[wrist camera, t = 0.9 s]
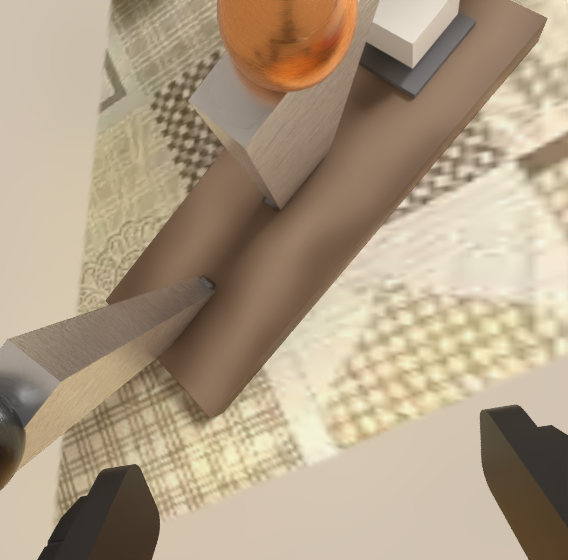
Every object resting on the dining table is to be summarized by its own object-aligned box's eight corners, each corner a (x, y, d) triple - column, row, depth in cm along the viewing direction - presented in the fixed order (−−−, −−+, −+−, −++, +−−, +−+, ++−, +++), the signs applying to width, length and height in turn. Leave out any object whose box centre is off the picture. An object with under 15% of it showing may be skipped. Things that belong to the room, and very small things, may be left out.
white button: (456, 23, 25) (461, -17, 22) (412, 76, 25) (412, 44, 23) (403, -4, 26) (402, -45, 24) (363, 47, 27) (357, 13, 24)
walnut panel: (537, 41, 26) (549, 13, 24) (223, 412, 29) (207, 418, 27) (388, -33, 30) (386, -64, 27) (123, 302, 33) (101, 300, 31)
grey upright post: (226, 292, 28) (33, 425, 8) (176, 353, 29) (-127, 628, 8) (195, 266, 28) (-85, 332, 8) (145, 328, 29) (-239, 542, 8)
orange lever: (339, 154, 27) (462, -118, 7) (285, 219, 28) (244, 157, 7) (306, 126, 27) (329, -235, 7) (253, 193, 28) (119, 51, 7)
